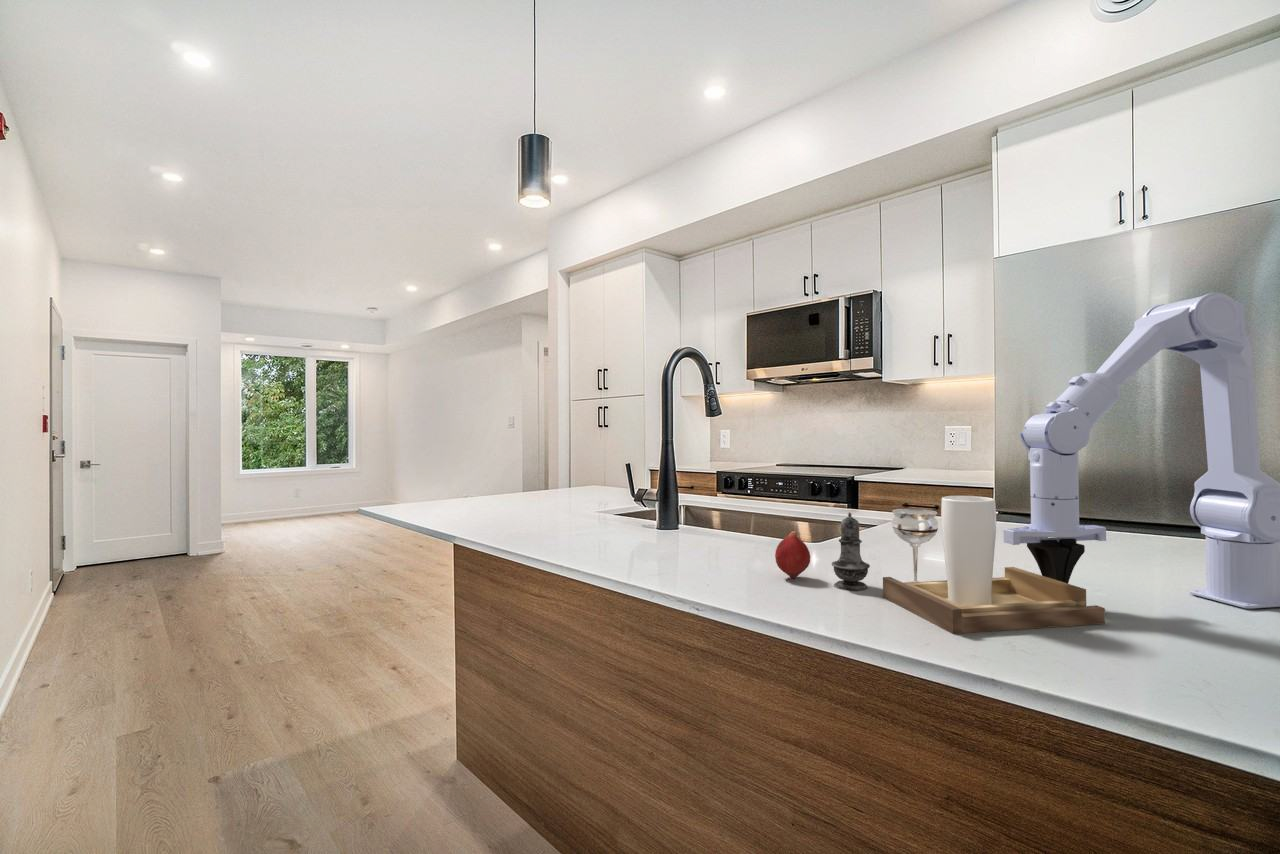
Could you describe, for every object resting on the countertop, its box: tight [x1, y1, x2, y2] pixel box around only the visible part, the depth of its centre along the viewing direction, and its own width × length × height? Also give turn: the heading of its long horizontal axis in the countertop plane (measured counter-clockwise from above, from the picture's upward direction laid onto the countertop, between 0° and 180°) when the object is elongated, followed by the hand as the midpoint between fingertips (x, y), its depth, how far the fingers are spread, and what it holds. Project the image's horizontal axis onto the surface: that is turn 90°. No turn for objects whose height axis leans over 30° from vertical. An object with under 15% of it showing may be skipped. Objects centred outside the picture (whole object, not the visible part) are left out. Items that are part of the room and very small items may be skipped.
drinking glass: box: [940, 495, 997, 606], centre depth 86 cm, size 7×7×15 cm
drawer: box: [904, 566, 1087, 614], centre depth 86 cm, size 18×13×4 cm
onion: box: [774, 530, 811, 579], centre depth 106 cm, size 6×6×8 cm
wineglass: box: [891, 508, 939, 583], centre depth 99 cm, size 7×7×12 cm
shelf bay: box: [882, 576, 1106, 634], centre depth 86 cm, size 21×17×3 cm
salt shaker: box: [831, 511, 871, 592], centre depth 100 cm, size 6×6×12 cm
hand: (1055, 592), depth 88 cm, fingers closed
